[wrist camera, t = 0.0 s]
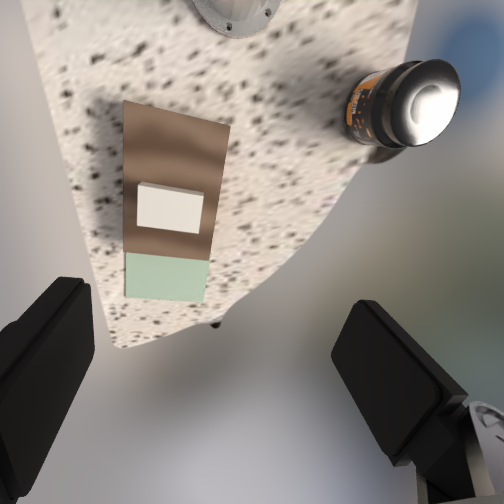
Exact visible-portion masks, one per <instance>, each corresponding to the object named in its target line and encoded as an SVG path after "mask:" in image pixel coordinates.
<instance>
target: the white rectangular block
mask: <svg viewBox="0 0 504 504" xmlns="http://www.w3.org/2000/svg"><path fill="white" fill-rule="evenodd" d="M203 197H204V192H199V191H193V190H187V189H181V188H176V187H170V186H164V185H158V184H152V183H147V182H141V183H140V184H139V185H138V204H137V226H144V227H152V228H159V229H167V230H174V231H182V232H190V233H197V234H199V227H200V219H201V212H202V205H203Z"/></svg>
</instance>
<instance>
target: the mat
mask: <svg viewBox="0 0 504 504" xmlns="http://www.w3.org/2000/svg"><path fill="white" fill-rule="evenodd" d="M210 255H211V251H210ZM209 261H210V257H209ZM209 261H204V260H194V259H185V258H175V257H166V256H156V255H147V254H137V253H127V252H126V298H141V299H157V300H173V301H189V302H203V298H204V292H205V286H206V280H207V274H208V267H209Z"/></svg>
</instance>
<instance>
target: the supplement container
mask: <svg viewBox="0 0 504 504" xmlns="http://www.w3.org/2000/svg"><path fill="white" fill-rule="evenodd" d="M460 89H461V85H460V79H459V75H458V73H457V71H456V69H455V68H454V67H453V66H452V65H451V64H450V63H449V62H447V61H444V60H441V59H432V60H428V61H420V60H413V61H408V62H405V63H402V64H400V65H398V66H396V67H392V68H389V69H386V70H382V71H378V72H374V73H371V74H369V75H367V76H365V77H364V78H363V79H361V80H360V81H359V82H358V83H357V84H356V85H355V86H354V88H353V89H352V90H351V92H350V94H349V96H348V98H347V100H346V103H345V107H344V114H343V119H344V126H345V129H346V131H347V133H348V135H349V136H350V137H351V138H352V139H353V140H354V141H355V142H357V143H359V144H362V145H374V146H382V147H386V148H391V149H399V148H404V147H407V146H409V147H417V146H422V145H424V144H427V143H429V142H431V141H432V140H434V139H435V138H437V137H438V136H439V135H440V134H441V133H442V132H443V131H444V130H445V128H446V127H447V126H448V124H449V123H450V122H451V120H452V118H453V116H454V114H455V112H456V110H457V107H458V104H459V99H460V92H461V91H460Z"/></svg>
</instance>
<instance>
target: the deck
mask: <svg viewBox="0 0 504 504" xmlns="http://www.w3.org/2000/svg"><path fill="white" fill-rule="evenodd" d="M230 127H231V126H228V125H224V124H220V123H216V122H212V121H208V120H203V119H199V118H195V117H191V116H187V115H183V114H179V113H175V112H171V111H167V110H163V109H159V108H155V107H150V106H146V105H142V104H138V103H134V102H130V101H126V100H123V252H127V253H137V254H147V255H156V256H166V257H175V258H185V259H194V260H204V261H209V257H210V251H211V244H212V238H213V232H214V226H215V220H216V213H217V207H218V201H219V195H220V189H221V182H222V176H223V170H224V164H225V158H226V151H227V145H228V139H229V133H230ZM141 182H147V183H152V184H158V185H164V186H170V187H176V188H181V189H187V190H193V191H199V192H204V197H203V205H202V212H201V219H200V227H199V234H197V233H190V232H182V231H174V230H167V229H159V228H152V227H144V226H137V204H138V185H139V184H140V183H141Z"/></svg>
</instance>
